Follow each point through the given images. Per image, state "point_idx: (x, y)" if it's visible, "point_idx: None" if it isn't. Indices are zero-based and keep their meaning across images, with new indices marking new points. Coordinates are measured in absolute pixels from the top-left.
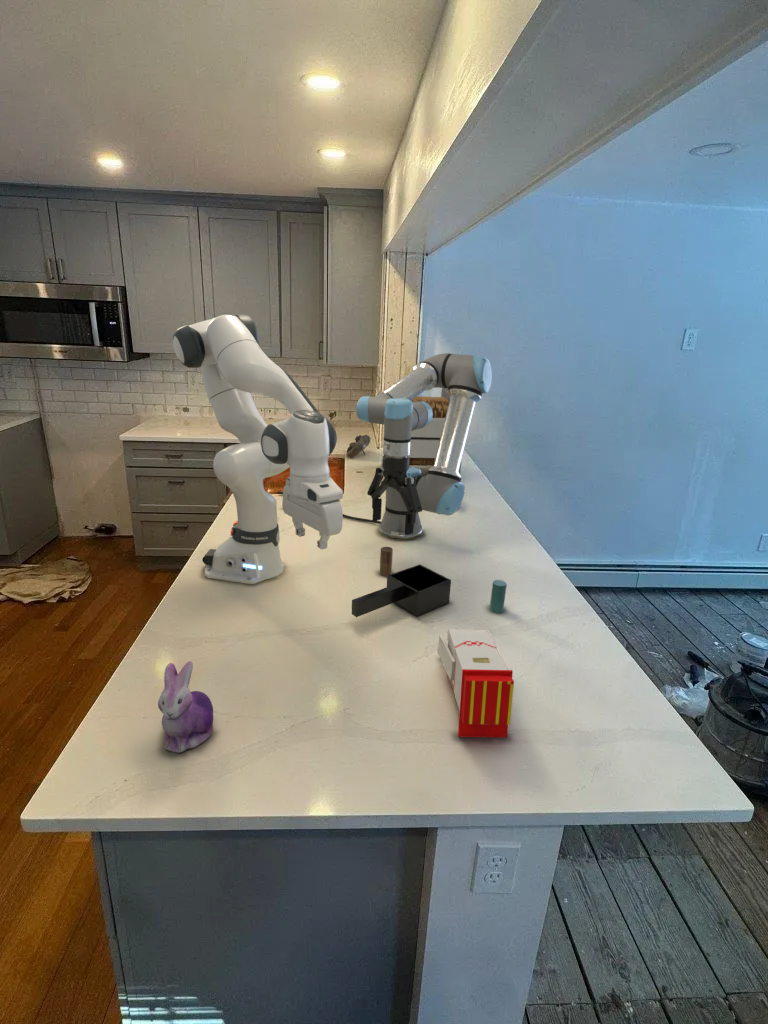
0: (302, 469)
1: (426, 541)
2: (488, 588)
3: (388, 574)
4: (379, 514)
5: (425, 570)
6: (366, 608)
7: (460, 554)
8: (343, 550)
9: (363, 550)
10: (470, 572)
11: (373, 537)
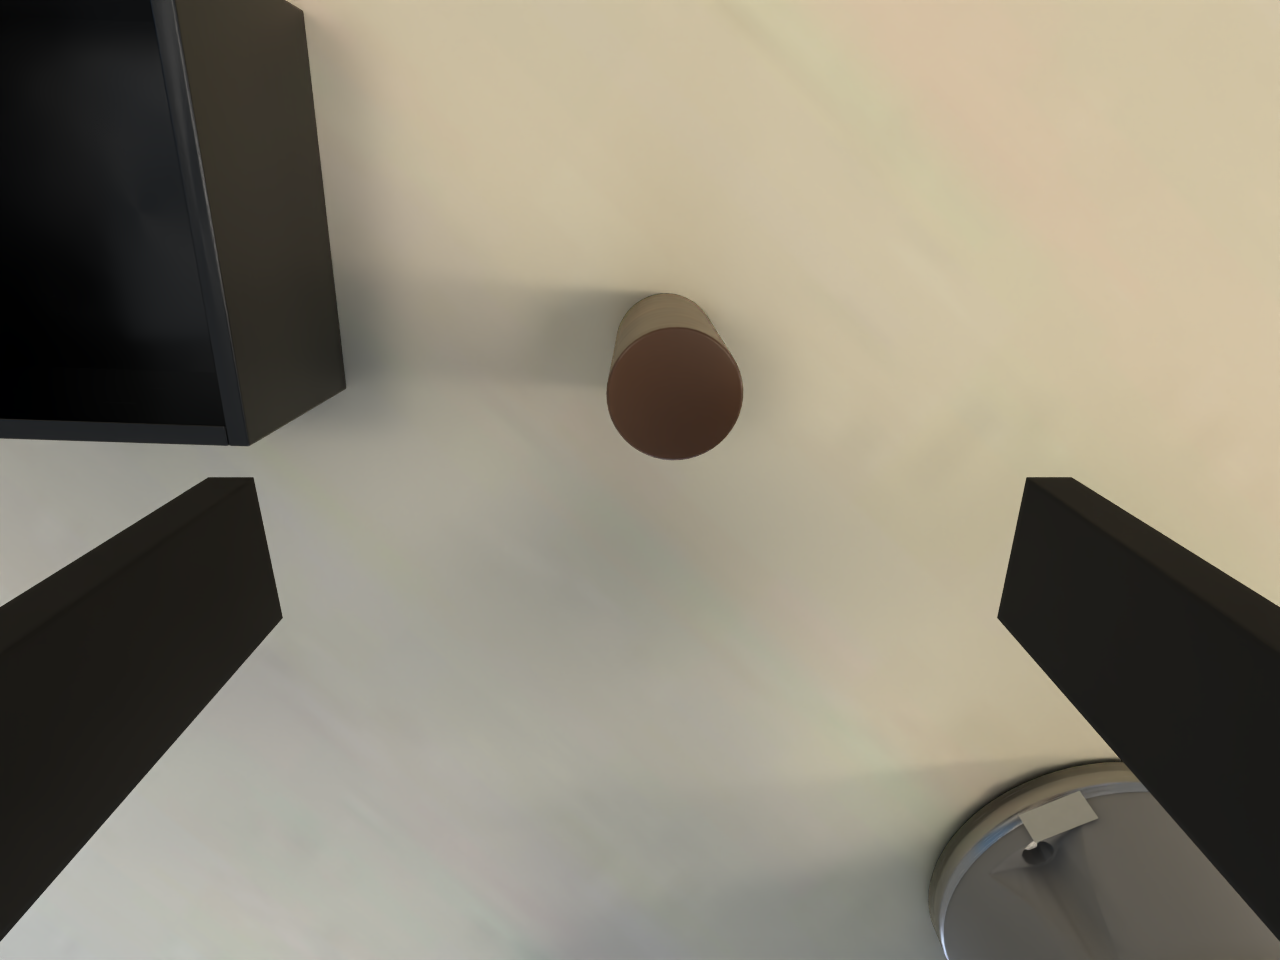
0: None
1: (850, 899)
2: None
3: (617, 333)
4: (1058, 640)
5: (152, 417)
6: None
7: (569, 913)
8: (1228, 362)
9: None
10: (338, 792)
11: None
